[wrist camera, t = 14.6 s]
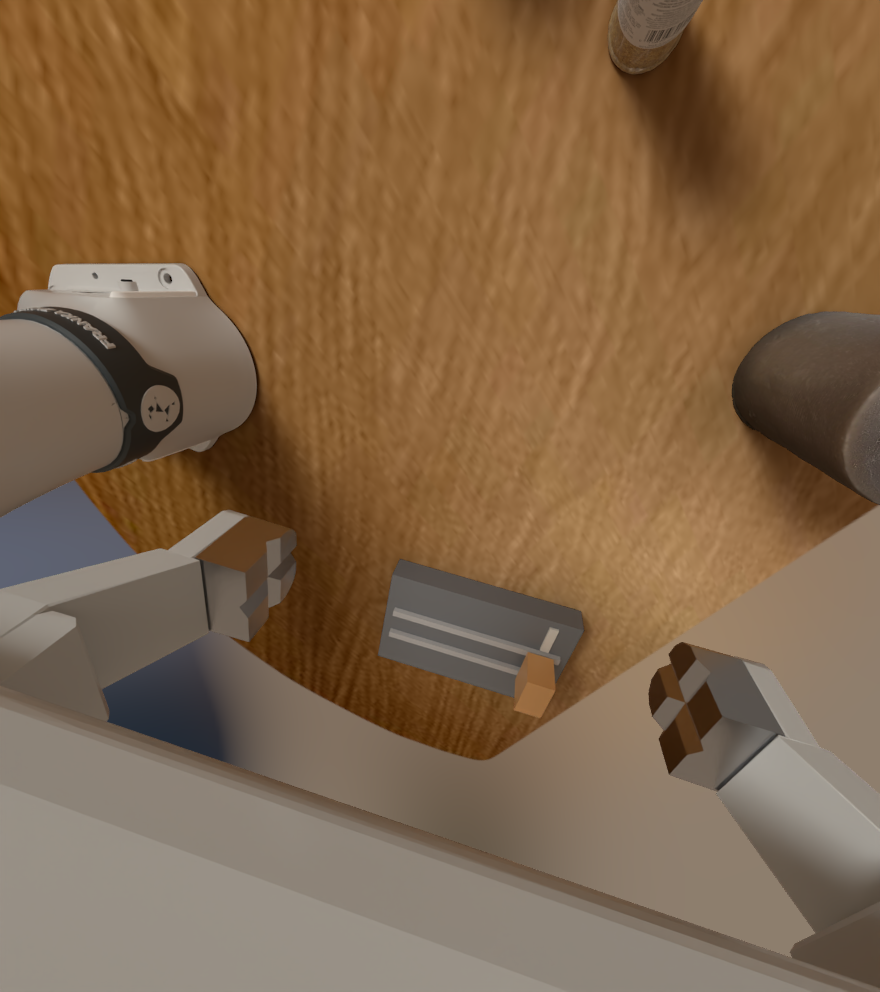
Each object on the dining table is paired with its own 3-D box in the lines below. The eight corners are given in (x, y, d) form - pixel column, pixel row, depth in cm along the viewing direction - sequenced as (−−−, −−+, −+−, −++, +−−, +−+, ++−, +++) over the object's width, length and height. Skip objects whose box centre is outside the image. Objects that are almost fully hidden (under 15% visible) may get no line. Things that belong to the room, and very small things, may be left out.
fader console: (385, 638, 55) (376, 659, 52) (399, 558, 48) (390, 577, 45) (542, 686, 53) (543, 711, 50) (581, 611, 47) (584, 634, 43)
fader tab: (515, 673, 49) (513, 710, 45) (527, 646, 46) (527, 681, 42) (539, 681, 49) (540, 718, 44) (553, 654, 46) (555, 690, 42)
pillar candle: (728, 444, 35) (844, 537, 22) (734, 327, 31) (879, 357, 18) (867, 423, 32) (1092, 515, 19) (892, 292, 29) (1196, 298, 16)
